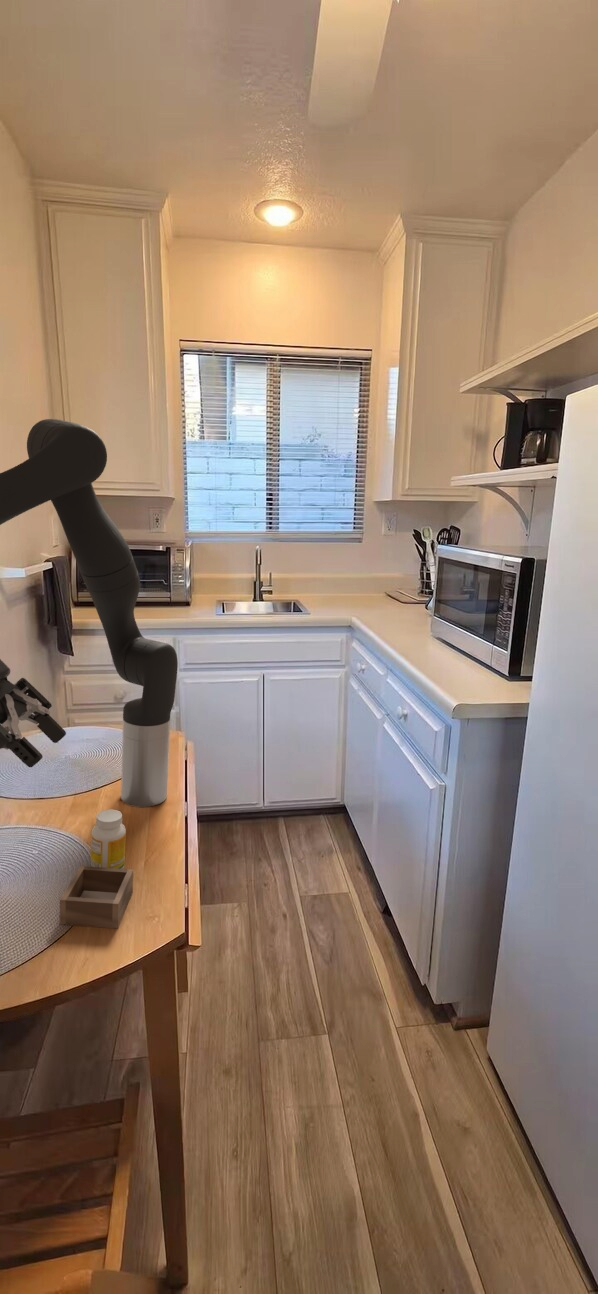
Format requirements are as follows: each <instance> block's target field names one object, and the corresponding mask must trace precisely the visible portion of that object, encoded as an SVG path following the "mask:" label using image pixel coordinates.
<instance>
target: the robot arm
mask: <svg viewBox="0 0 598 1294" xmlns="http://www.w3.org/2000/svg"><path fill="white" fill-rule="evenodd" d="M26 451H27V456H28V459H26V460H24V461H23V462H21V463H19V464H17V465H15V466H14V467H11V468H9V469H7V470H5V471H3V472H0V526H1V525H2V524H5V523H6V522H7V523H8V522H9V521H10V520H12V519H14V518H16V517H18V516H20V515H21V514H24V513H26V512H28V511H29V510H32V509H34V508H37V507H39V506H40V505H42V504H45V503H48V502H49V501H50V502H51V503H52V505H53V507H54V510H55V511H56V513H57V517H58V518H59V520H60V523H61V525H62V528H63V532H64V534H65V536H66V539H67V542H68V545H69V546H70V549H71V551H72V554H73V556H74V560H75V562H76V564H77V567H78V570H79V573H80V575H81V577H82V580H83V582H84V584H85V587H86V589H87V591H88V593H89V595H90V598H91V600H92V601H93V605H94V607H95V609H96V612H97V615H98V617H99V620H100V623H101V625H102V629H103V630H104V634H105V637H106V640H107V644H108V648H109V650H110V651H109V652H110V655H111V658H112V662H113V664H114V667H115V670H116V672H117V674H118V676H119V677H120V679H122V680H124V681H126V682H127V683H130V684H134V685H137V686H141V687H143V688H142V696H141V697H140V698H135V699H131V700H130V701H128V702H126V703H125V704H124V706H123V710H122V741H121V742H122V747H121V749H122V750H121V751H122V752H121V783H120V786H121V787H120V799H121V801H122V802H123V803H125V804H126V805H128V806H131V807H138V808H146V807H147V808H148V807H149V808H150V807H154V806H157V805H159V804H161V803H163V802H164V801H165V800H166V799H167V797H168V780H169V760H170V759H169V755H170V754H169V753H170V739H171V738H170V730H171V713H172V709H173V706H174V703H175V697H176V688H177V677H178V668H179V667H178V664H179V663H178V655H177V652H176V650H175V648H174V647H173V645H171V644H169V643H165V642H162V641H157V640H153V639H149V638H145V637H144V636H143V635H142V633H141V632H140V629H139V627H138V624H137V621H136V618H135V613H134V611H135V607H136V605H137V601H138V597H139V594H140V588H141V581H140V573H139V570H138V569H137V565H136V562H135V560H134V557H133V553H132V551H131V549H130V547H129V544H128V543H127V541H126V539H125V538H124V536H123V535H122V532H120V530H119V529H118V527H117V525H116V524H115V523H114V521H113V520H112V518H111V517H110V516H109V515H108V512H106V509H104V507H103V506H102V504H101V502H100V500H99V498H98V496H97V494H96V492H95V490H94V489H95V488H94V487H93V483H94V482H95V481H96V480H98V479H99V478H100V477H101V475H103V473H104V471H105V468H106V466H107V461H108V451H107V447H106V444H105V443H104V441H103V439H102V437H100V435H99V434H98V433H97V432H95V431H94V430H93V429H91V428H89V427H87V426H85V425H82V424H79V423H76V422H71V421H67V420H62V419H57V418H46V419H42V420H40V421H38V422H36V423H35V424H34V425H33V426H32V427H31V428H30V431H29V432H28V435H27V440H26ZM10 675H11V668H10V667H9V666H8V665H7V664H6V663H5V662H4V661H3V660H2V659H1V658H0V750H1V749H2V750H3V749H5V750H9V751H11V752H12V753H13V754H14V755H15V756H16V757H17V758H18V759H19V760H20V761H21V762H22V763H23V764H25V765H26V766H27V768H33V767H34V766H36V764H38V763H39V762H40V761H41V760H42V759H43V754H42V752H40V751H39V750H38V749H37V748H36V747H35V746H34V745H33V744H32V743H31V742H30V741H29V740H28V739H27V738H26V737H25V736H22V733H21V731H20V728H19V723H20V721H28V722H30V723H32V724H35V725H36V727H37V728H38V729H39V730H40V731H41V732H42V733H43V735H45V736H46V737H47V738H48V739H49V740H50V741H51V742H52V743H53V744H56V743H59V741H61V740H63V738H64V737H65V736H66V735H67V731H66V730H64V728H63V727H62V726H61V725H60V724H59V723H58V722H57V721H56V720H55V719H54V718H53V717H52V716H51V715H50V714H51V711H50V709H51V707H53V706H52V702H50V701H49V700H48V699H47V698H46V697H45V696H44V695H43V694H42V693H40V691H39V690H38V689H36V688H35V686H34V685H32V684H31V683H30V681H28V680H27V679H26V678H25V677H21V678H20V679H18V680H16V682H14V683H12V682H11V681H10V680H8V677H9V676H10Z"/></svg>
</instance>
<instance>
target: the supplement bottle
mask: <svg viewBox="0 0 598 1294" xmlns="http://www.w3.org/2000/svg"><path fill="white" fill-rule="evenodd" d="M95 817H96V819H95V823H96V825H94V826H93V828H92V829H91V837H90V838H91V839H90V841H91V842H90V867H102V868H116V869H125V865H126V864H125V860H126V858H125V856H126V838H127V837H126V835H127V833H126V831H127V830H126V826H125V825H124V824H123V813H122V812H121V811H119V810H117V809H104V810H102V811H100V812H98V813H97V814H96V816H95Z"/></svg>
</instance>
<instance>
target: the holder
mask: <svg viewBox="0 0 598 1294" xmlns="http://www.w3.org/2000/svg"><path fill="white" fill-rule="evenodd" d="M73 875H74V876H73V877H72V879H71V881H70V882H69V884H68V886H67V887H66V889H65V891H64V892H63V894H62V896H61V897H60V899H59V925H60V924H67V925H66V926H75V927H92V928H93V927H94V928H107V929H118V928H119V926H120V924H121V922H122V919H123V916H124V915H125V912H126V910H127V908H128V905H129V903H130V899H131V897H132V895H133V892H134V891H133V890H134V869H128V868H123V869H116V868H102V867H91V866H86V865H85V866H83V865H80V866H79V867H78V869H77V870H76V872H75V874H73Z"/></svg>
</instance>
